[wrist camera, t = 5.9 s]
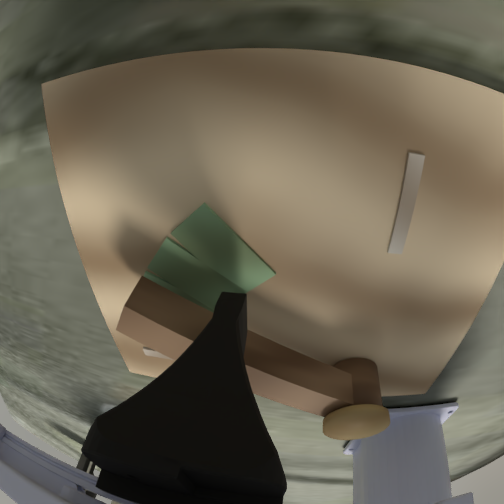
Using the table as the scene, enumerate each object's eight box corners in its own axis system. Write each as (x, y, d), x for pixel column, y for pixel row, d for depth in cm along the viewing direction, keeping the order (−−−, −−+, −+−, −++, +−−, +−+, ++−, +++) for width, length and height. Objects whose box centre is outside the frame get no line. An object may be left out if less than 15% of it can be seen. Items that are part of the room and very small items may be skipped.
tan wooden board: (422, 384, 18) (425, 395, 17) (133, 362, 20) (129, 373, 19) (534, 108, 7) (548, 114, 7) (53, 80, 10) (39, 84, 9)
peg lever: (394, 366, 15) (403, 420, 12) (353, 393, 17) (356, 443, 14) (156, 248, 13) (120, 306, 10) (136, 296, 14) (106, 351, 12)
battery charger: (101, 455, 43) (84, 504, 34) (84, 446, 42) (65, 495, 33) (112, 454, 40) (94, 509, 30) (92, 444, 39) (72, 499, 29)
